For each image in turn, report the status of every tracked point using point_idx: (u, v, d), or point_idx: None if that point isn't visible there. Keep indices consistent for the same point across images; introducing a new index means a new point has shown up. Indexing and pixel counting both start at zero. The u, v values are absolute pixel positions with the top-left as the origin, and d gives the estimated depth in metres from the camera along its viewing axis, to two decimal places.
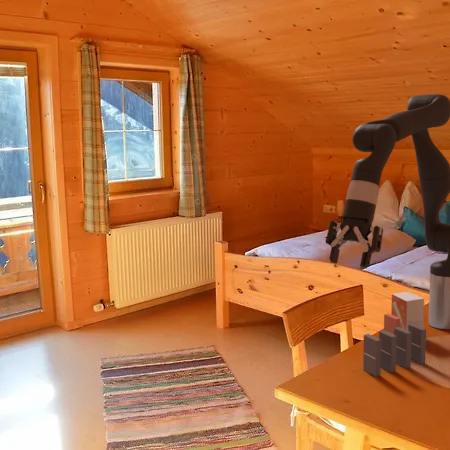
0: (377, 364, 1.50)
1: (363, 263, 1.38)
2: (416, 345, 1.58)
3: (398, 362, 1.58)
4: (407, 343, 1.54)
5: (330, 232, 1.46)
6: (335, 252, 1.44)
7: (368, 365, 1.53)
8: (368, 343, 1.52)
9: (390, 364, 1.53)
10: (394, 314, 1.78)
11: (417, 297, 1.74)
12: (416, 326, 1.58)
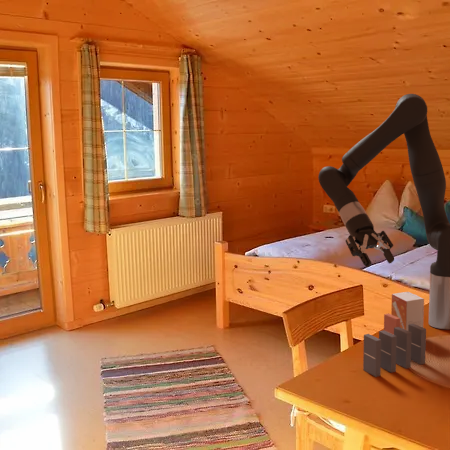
0: (377, 364, 1.50)
1: (365, 264, 1.68)
2: (416, 345, 1.58)
3: (398, 362, 1.58)
4: (407, 343, 1.54)
5: None
6: (385, 255, 1.73)
7: (368, 365, 1.53)
8: (368, 343, 1.52)
9: (390, 364, 1.53)
10: (394, 314, 1.78)
11: (417, 297, 1.74)
12: (416, 326, 1.58)
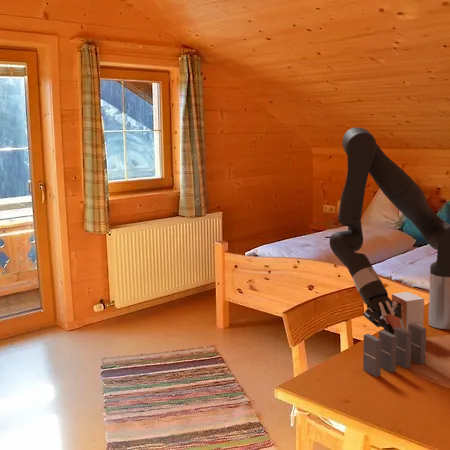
0: (377, 364, 1.50)
1: None
2: (416, 345, 1.58)
3: (398, 362, 1.58)
4: (407, 343, 1.54)
5: None
6: None
7: (368, 365, 1.53)
8: (368, 343, 1.52)
9: (390, 364, 1.53)
10: None
11: (417, 297, 1.74)
12: (417, 326, 1.58)
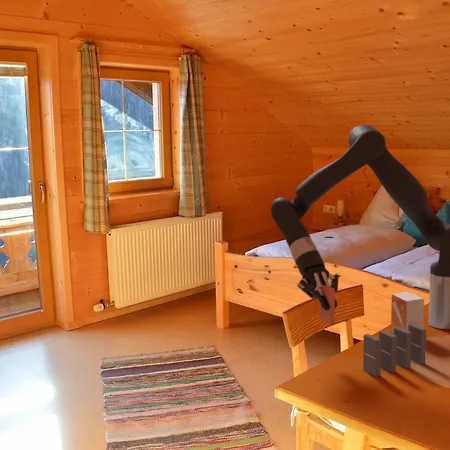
0: (377, 364, 1.50)
1: None
2: (416, 345, 1.58)
3: (398, 362, 1.58)
4: (407, 343, 1.54)
5: None
6: None
7: (368, 365, 1.53)
8: (368, 343, 1.52)
9: (390, 364, 1.53)
10: (394, 314, 1.78)
11: (417, 297, 1.74)
12: (417, 326, 1.58)
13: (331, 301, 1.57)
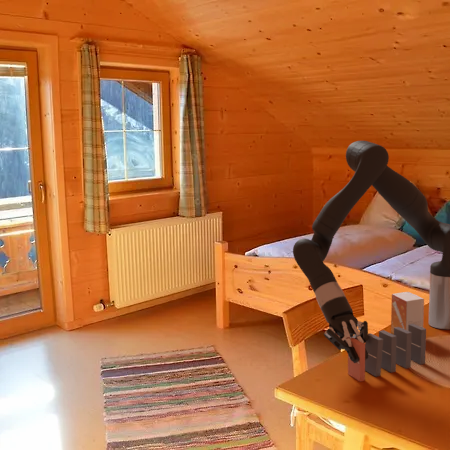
0: (378, 364, 1.51)
1: None
2: (416, 345, 1.58)
3: (398, 362, 1.58)
4: (407, 343, 1.54)
5: None
6: None
7: (368, 365, 1.53)
8: (370, 342, 1.52)
9: (390, 364, 1.53)
10: (394, 314, 1.78)
11: (417, 297, 1.74)
12: (416, 326, 1.58)
13: (361, 357, 1.47)
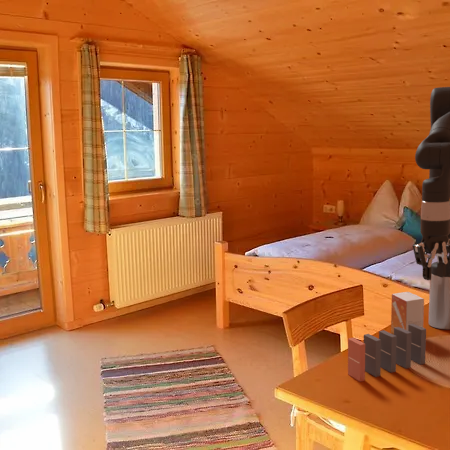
0: (377, 364, 1.50)
1: None
2: (416, 345, 1.58)
3: (398, 362, 1.58)
4: (407, 343, 1.54)
5: None
6: (438, 267, 1.59)
7: (367, 365, 1.53)
8: (368, 343, 1.52)
9: (390, 364, 1.53)
10: (394, 314, 1.78)
11: (417, 297, 1.74)
12: (416, 326, 1.58)
13: (361, 356, 1.47)
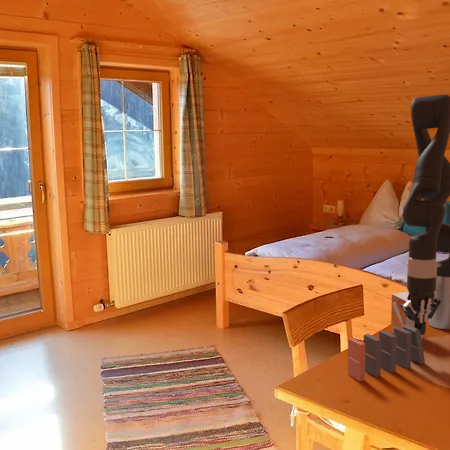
0: (377, 364, 1.50)
1: None
2: (413, 346, 1.58)
3: (398, 362, 1.58)
4: (407, 343, 1.54)
5: None
6: None
7: (367, 365, 1.53)
8: (368, 343, 1.52)
9: (390, 364, 1.53)
10: (394, 314, 1.78)
11: None
12: (411, 328, 1.57)
13: (361, 356, 1.47)
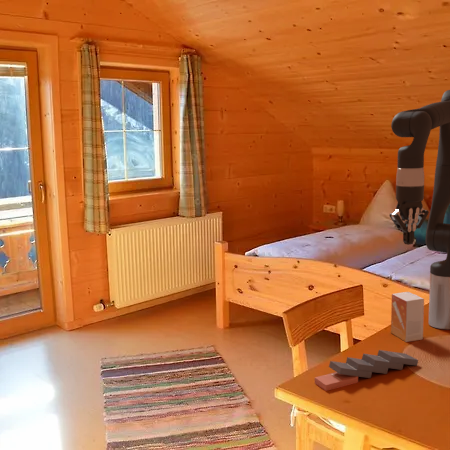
0: (360, 374, 1.49)
1: None
2: None
3: None
4: (381, 366, 1.51)
5: None
6: None
7: None
8: None
9: (379, 372, 1.52)
10: (394, 314, 1.78)
11: (417, 297, 1.74)
12: (384, 356, 1.54)
13: (336, 386, 1.45)
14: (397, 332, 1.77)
